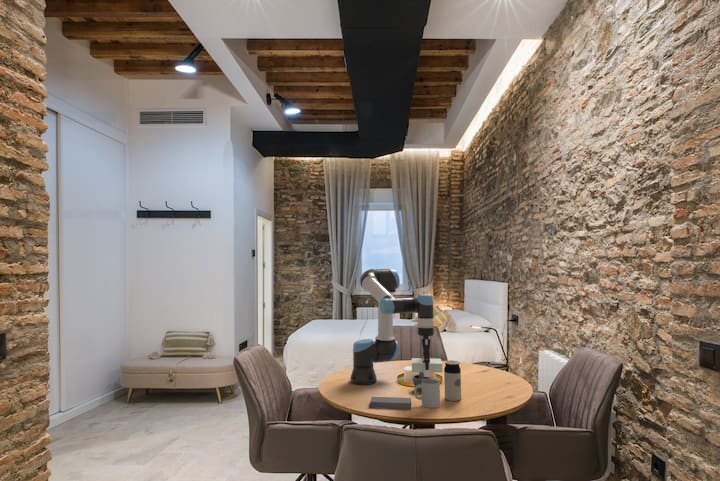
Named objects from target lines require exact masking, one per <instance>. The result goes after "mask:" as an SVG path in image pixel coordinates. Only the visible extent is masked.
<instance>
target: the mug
mask: <svg viewBox="0 0 720 481" xmlns="http://www.w3.org/2000/svg"><path fill="white" fill-rule="evenodd" d="M440 385H441V384H440V381H439V380H437V379H433V378H431V379H426V380H422V384H421V385H417V386H415V387H414V391H413V394H414V398H415V399H417V400H418V401H419V400H420V401H421V406H422V407H424V408H427V409H438V408H439V407H441V395H440V394H441V393H440V392H441V391H440V390H441V389H440V388H441V386H440ZM418 388H421V389H422V392H421V395H418V394H417V392H418V391H417V389H418Z"/></svg>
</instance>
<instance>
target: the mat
mask: <svg viewBox="0 0 720 481" xmlns="http://www.w3.org/2000/svg"><path fill="white" fill-rule="evenodd" d="M369 406H370V407H369V408H371V409H373V408H376V409H377V408H378V409H379V408H380V409H404V410H405V409H406V410H407V409H408V410H411V409H412V397H398V396H397V397H395V396H394V397H393V396H389V397H387V396H371V399H370V401H369Z"/></svg>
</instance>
